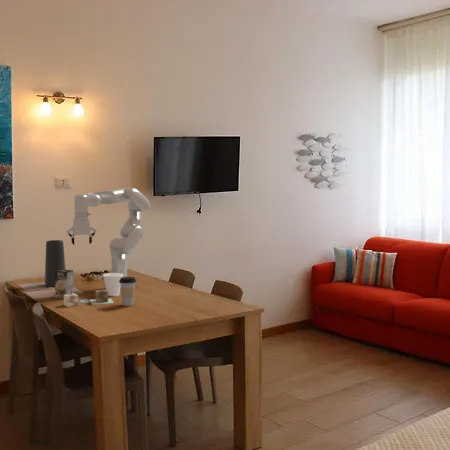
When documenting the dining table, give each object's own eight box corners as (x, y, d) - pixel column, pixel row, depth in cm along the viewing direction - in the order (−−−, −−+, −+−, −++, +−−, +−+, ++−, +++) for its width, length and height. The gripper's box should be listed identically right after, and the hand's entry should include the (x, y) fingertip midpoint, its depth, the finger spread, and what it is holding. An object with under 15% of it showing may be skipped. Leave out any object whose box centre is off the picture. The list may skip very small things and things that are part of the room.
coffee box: (54, 297, 353) (54, 270, 352) (62, 295, 359) (61, 269, 357) (67, 299, 349) (66, 271, 348) (74, 297, 355) (73, 270, 354)
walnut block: (106, 299, 345) (106, 289, 344) (107, 301, 339) (107, 291, 339) (95, 300, 343) (95, 290, 343) (97, 302, 337) (96, 292, 337)
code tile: (87, 299, 349) (87, 298, 349) (88, 302, 340) (88, 302, 340) (69, 300, 346) (69, 300, 346) (70, 304, 337) (70, 303, 337)
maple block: (74, 304, 337) (74, 293, 337) (78, 306, 332) (78, 295, 332) (63, 305, 334) (63, 294, 333) (67, 307, 329) (67, 296, 328)
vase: (71, 284, 393) (70, 240, 390) (54, 288, 382) (53, 242, 379) (56, 282, 400) (55, 239, 398) (40, 286, 389) (38, 241, 386)
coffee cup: (122, 307, 329) (122, 280, 327) (117, 304, 337) (116, 277, 336) (139, 305, 333) (138, 278, 332) (133, 302, 341) (133, 276, 340)
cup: (99, 296, 358) (98, 275, 357) (111, 292, 369) (110, 272, 368) (115, 297, 353) (115, 276, 352) (127, 294, 364) (127, 273, 363)
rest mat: (111, 299, 349) (111, 298, 349) (114, 303, 337) (114, 302, 337) (89, 300, 345) (89, 299, 345) (92, 305, 334) (92, 304, 334)
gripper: (95, 214, 365) (95, 242, 367) (65, 215, 360) (66, 244, 361) (96, 215, 358) (97, 244, 360) (66, 216, 353) (67, 245, 354)
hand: (81, 244), depth 361 cm, fingers open, 9 cm apart
